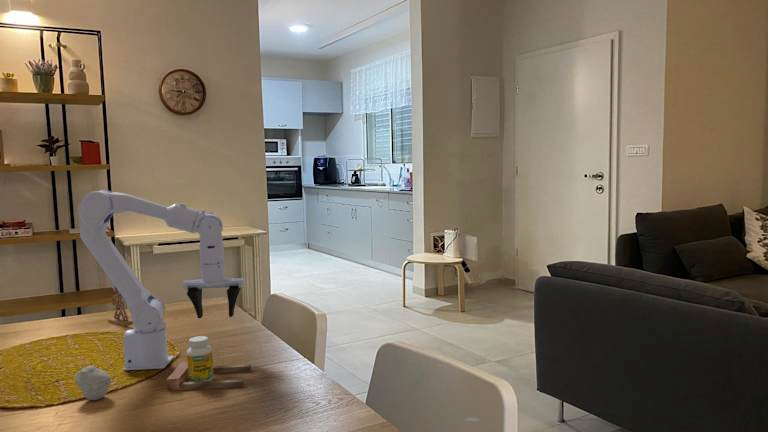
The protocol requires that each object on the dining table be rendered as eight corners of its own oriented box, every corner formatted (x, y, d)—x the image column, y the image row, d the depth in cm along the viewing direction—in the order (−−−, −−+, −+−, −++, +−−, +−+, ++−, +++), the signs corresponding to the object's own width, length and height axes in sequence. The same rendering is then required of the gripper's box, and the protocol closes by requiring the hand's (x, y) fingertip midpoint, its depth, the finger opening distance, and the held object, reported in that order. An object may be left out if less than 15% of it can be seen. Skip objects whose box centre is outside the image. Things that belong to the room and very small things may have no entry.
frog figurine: (86, 393, 123) (84, 361, 123) (118, 393, 123) (116, 361, 122) (70, 405, 117) (67, 372, 117) (104, 405, 117) (101, 371, 116)
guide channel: (167, 390, 124) (166, 379, 124) (181, 372, 134) (181, 362, 134) (242, 386, 125) (242, 375, 124) (251, 369, 135) (250, 359, 135)
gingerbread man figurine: (107, 322, 180) (104, 284, 179) (119, 319, 183) (116, 282, 182) (123, 326, 175) (121, 287, 174) (135, 322, 178) (133, 284, 177)
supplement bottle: (210, 374, 133) (207, 333, 132) (216, 381, 128) (214, 339, 127) (186, 379, 130) (183, 337, 129) (191, 386, 126) (189, 343, 125)
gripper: (177, 266, 138) (181, 322, 139) (238, 264, 138) (242, 319, 139) (186, 261, 145) (189, 314, 146) (244, 259, 145) (247, 312, 146)
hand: (215, 316), depth 143 cm, fingers open, 7 cm apart
